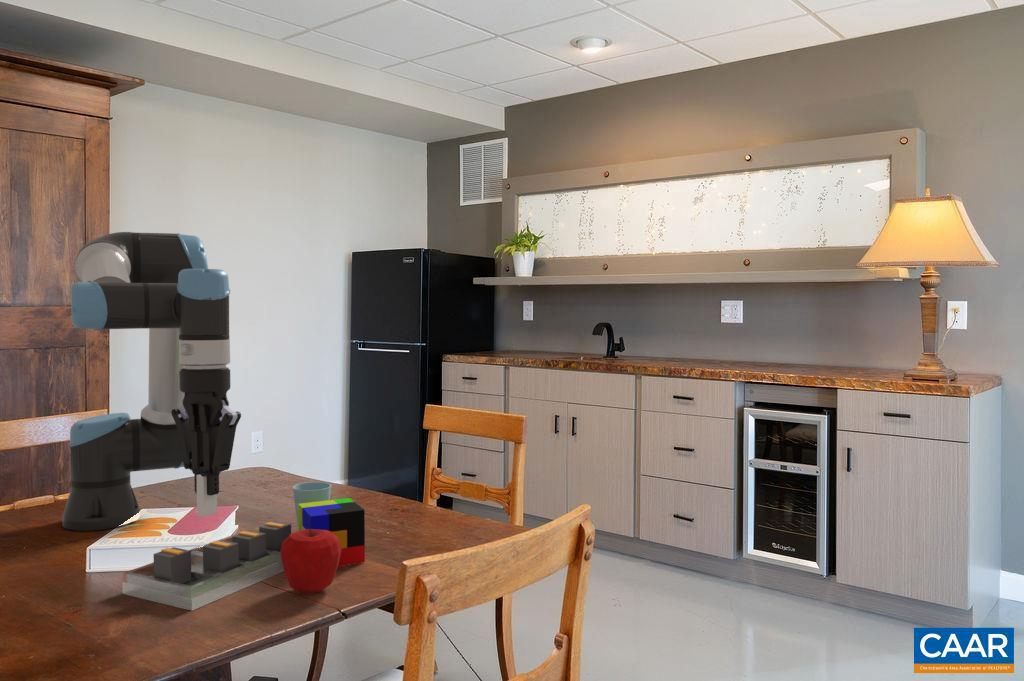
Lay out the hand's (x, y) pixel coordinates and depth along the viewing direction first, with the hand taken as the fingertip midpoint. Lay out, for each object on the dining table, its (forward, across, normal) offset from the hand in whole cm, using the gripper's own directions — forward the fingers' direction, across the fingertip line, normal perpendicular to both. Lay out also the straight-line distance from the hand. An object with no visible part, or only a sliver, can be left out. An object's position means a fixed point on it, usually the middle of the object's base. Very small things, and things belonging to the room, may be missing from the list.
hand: (207, 514), depth 125 cm
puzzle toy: (+15, +3, +27) cm, 31 cm away
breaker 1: (+12, -8, 0) cm, 15 cm away
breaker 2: (+12, -4, +7) cm, 15 cm away
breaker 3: (+12, -4, +13) cm, 18 cm away
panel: (+14, -8, +10) cm, 19 cm away
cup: (+15, -10, +37) cm, 41 cm away
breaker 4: (+12, -4, +20) cm, 24 cm away
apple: (+15, +11, +12) cm, 22 cm away
